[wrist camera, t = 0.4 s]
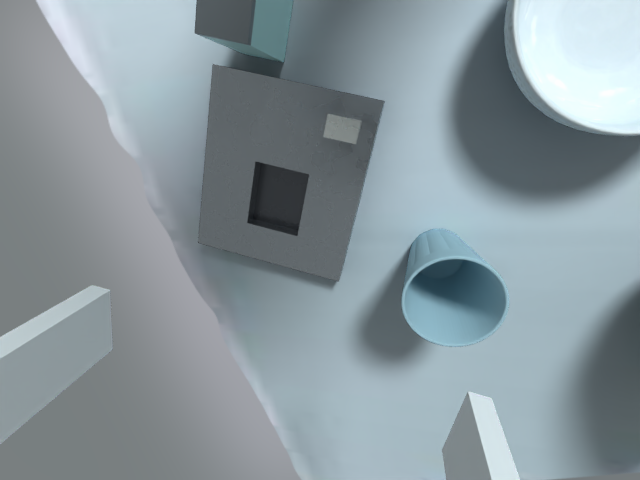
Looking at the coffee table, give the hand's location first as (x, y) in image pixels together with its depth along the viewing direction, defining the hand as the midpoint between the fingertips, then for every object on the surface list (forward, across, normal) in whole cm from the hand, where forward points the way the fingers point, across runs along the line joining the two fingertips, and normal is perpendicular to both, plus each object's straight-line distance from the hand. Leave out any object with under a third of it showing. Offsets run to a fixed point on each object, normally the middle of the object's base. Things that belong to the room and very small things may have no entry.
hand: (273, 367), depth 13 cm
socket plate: (+25, -7, +1) cm, 26 cm away
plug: (+26, -11, +14) cm, 31 cm away
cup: (+26, +10, -3) cm, 28 cm away
